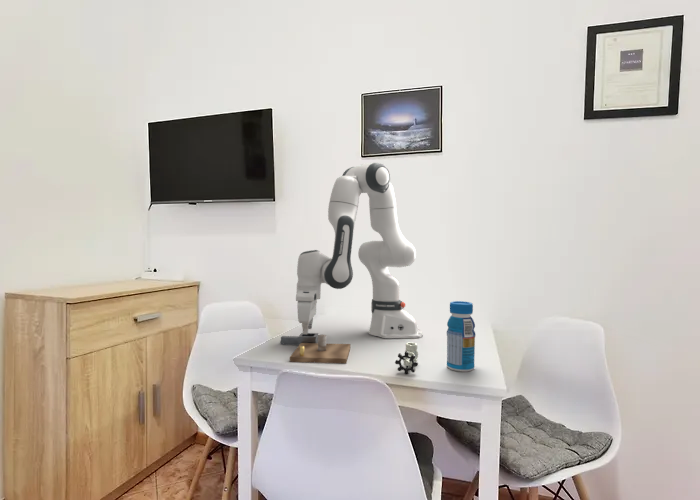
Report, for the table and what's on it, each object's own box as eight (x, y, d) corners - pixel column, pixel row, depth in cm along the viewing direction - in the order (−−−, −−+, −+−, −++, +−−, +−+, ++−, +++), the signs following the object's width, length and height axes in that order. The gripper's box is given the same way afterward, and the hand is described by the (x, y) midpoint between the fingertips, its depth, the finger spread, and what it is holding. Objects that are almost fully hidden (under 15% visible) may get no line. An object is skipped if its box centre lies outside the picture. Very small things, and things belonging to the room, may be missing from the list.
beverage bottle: (444, 370, 117) (445, 303, 117) (447, 362, 125) (448, 299, 125) (474, 374, 114) (475, 305, 114) (475, 365, 122) (476, 301, 122)
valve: (402, 361, 126) (394, 373, 114) (402, 341, 126) (395, 351, 114) (422, 363, 124) (417, 375, 112) (422, 343, 124) (417, 353, 112)
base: (350, 348, 141) (350, 330, 141) (346, 363, 123) (346, 342, 123) (301, 346, 142) (301, 329, 142) (289, 361, 124) (289, 341, 124)
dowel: (304, 359, 127) (304, 345, 127) (303, 361, 125) (303, 347, 125) (300, 359, 127) (300, 345, 127) (299, 360, 125) (299, 346, 125)
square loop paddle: (318, 342, 149) (318, 333, 149) (315, 346, 143) (315, 337, 143) (283, 341, 150) (283, 332, 150) (279, 345, 144) (279, 336, 144)
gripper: (304, 290, 156) (303, 325, 156) (294, 296, 135) (293, 336, 135) (320, 291, 155) (319, 326, 155) (313, 297, 135) (312, 337, 135)
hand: (307, 331), depth 145 cm, fingers open, 8 cm apart
